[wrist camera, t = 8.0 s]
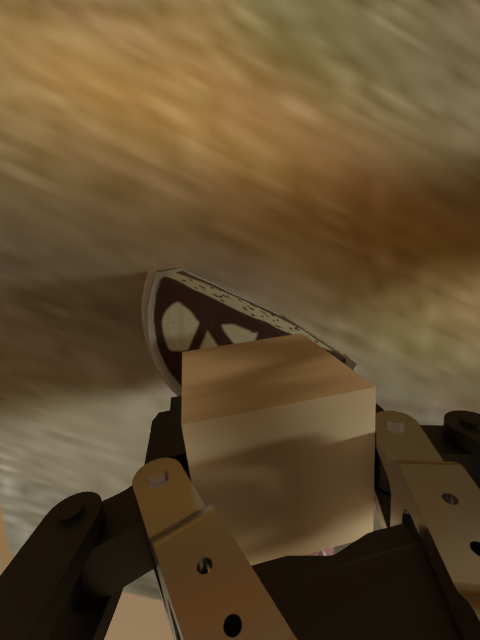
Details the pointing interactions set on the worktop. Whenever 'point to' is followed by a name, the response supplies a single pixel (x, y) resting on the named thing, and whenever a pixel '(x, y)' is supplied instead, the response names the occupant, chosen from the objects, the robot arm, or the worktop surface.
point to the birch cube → (280, 444)
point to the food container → (205, 321)
